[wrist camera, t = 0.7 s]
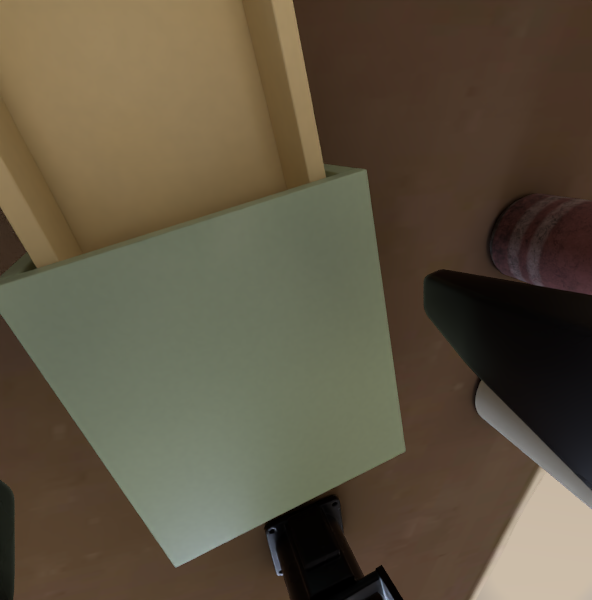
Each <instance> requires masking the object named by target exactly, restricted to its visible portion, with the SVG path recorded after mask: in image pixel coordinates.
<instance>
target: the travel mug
mask: <svg viewBox="0 0 592 600" xmlns="http://www.w3.org/2000/svg"><path fill="white" fill-rule="evenodd" d="M475 405H476V410H477V412H478V414H479V415H480V416H481V417H482V418H483V419H484V420H486V421H487V422H488V423H489V424H490V425H492V426H493V427H494V428H495V429H496V430H497V431H499V432H500V433H501V434H502V435H503V436H505V437H506V438H507V439H508V440H509V441H511V442H512V443H513V444H514V445H515V446H517V447H518V448H519V449H520V450H521V451H523V452H524V453H525V454H526V455H527V456H529V457H530V458H531V459H532V460H533V461H535V462H536V463H537V464H538V465H539V466H541V467H542V468H543V469H544V470H545V471H547V472H548V473H549V474H550V475H551V476H553V477H554V478H555V479H556V480H557V481H559V482H560V483H561V484H562V485H563V486H565V487H566V488H567V489H568V490H569V491H571V492H572V493H573V494H574V495H575V496H577V497H578V498H579V499H580V500H582V501H583V502H584V503H585V504H586V505H587V506H589V507H590V508H591V509H592V491H591V490H590V489H589V488H588V487H587V486H586V485H585V483H584V482H583V481H582V480H581V479H580V478H579V477H578V476H577V475H576V474H575V473H574V472H573V471H572V470H571V469H570V468H569V467H568V466H567V465H566V464H565V463H564V462H563V461H562V460H561V459H560V458H559V457H558V456H557V455H556V454H555V453H554V452H553V451H552V450H551V449H550V448H549V447H548V446H547V445H546V444H545V443H544V442H543V441H542V440H541V439H540V438H539V437H538V436H537V435H536V434H535V433H534V432H533V431H532V430H531V429H530V428H529V427H528V426H527V425H526V424H525V423H524V422H523V421H522V420H521V419H520V418H519V417H518V416H517V415H516V414H515V413H514V412H513V411H512V410H511V409H510V408H509V407H508V406H507V405H506V404H505V403H504V402H503V401H502V400H501V399H500V398H499V397H498V396H497V395H496V394H495V393H494V392H493V391H492V390H491V389H490V388H489V387H488V386H487V385H486V384H485V383H484V382H483V381H482V380H481V382H480V384H479V387H478V389H477V393H476V399H475Z"/></svg>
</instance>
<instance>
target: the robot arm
mask: <svg viewBox="0 0 592 600" xmlns="http://www.w3.org/2000/svg"><path fill="white" fill-rule="evenodd" d="M424 310H425V312H426V314H427V316H428V317H429V318H430V320H431V321H432V322H433V323H434V325H435V326H436V327H437V328H438V330H439V331H440V332H441V333H442V335H443V336H444V337H445V338H446V340H447V341H448V342H449V343H450V344H451V346H452V347H453V348H454V349H455V351H456V352H457V353H458V354H459V356H460V357H461V358H462V359H463V360H464V362H465V363H466V364H467V365H468V366H469V367H470V368H471V369H472V371H473V372H474V373H475V374H476V375H477V376H478V377H479V378H480V379H481V380H482V381H483V382H484V383H485V384H486V385H487V386H488V387H489V388H490V389H491V390H492V391H493V392H494V393H495V394H496V395H497V396H498V397H499V398H500V399H501V400H502V401H503V402H504V403H505V404H506V405H507V406H508V407H509V408H510V409H511V410H512V411H513V412H514V413H515V414H516V415H517V416H518V417H519V418H520V419H521V420H522V421H523V422H524V423H525V424H526V425H527V426H528V427H529V428H530V429H531V430H532V431H533V432H534V433H535V434H536V435H537V436H538V437H539V438H540V439H541V440H542V441H543V442H544V443H545V444H546V445H547V446H548V447H549V448H550V449H551V450H552V451H553V452H554V453H555V454H556V455H557V456H558V457H559V458H560V459H561V460H562V461H563V462H564V463H565V464H566V465H567V466H568V467H569V468H570V469H571V470H572V471H573V472H574V473H575V474H576V475H577V476H578V477H579V478H580V479H581V480H582V481H583V482H584V483H585V485H586V486H587V487H588V488H589V489H590V490H591V491H592V295H589V294H583V293H577V292H572V291H566V290H560V289H554V288H549V287H543V286H537V285H531V284H525V283H520V282H514V281H508V280H502V279H497V278H491V277H485V276H479V275H474V274H468V273H462V272H456V271H451V270H444V269H442V270H438V271H436V272H434V273H431V274H429V275H427V276H426V277H425V279H424ZM265 532H266V536H267V540H268V544H269V547H270V551H271V555H272V559H273V563H274V567H275V570H276V574H277V575H279V576H281V575H283V577H284V580H285V583H286V587H287V590H288V593H289V596H290V600H403V598H402V597H401V595H400V594H399V592H398V590H397V589H396V587H395V586H394V584H393V582H392V581H391V579H390V577H389V576H388V574H387V573H386V571H385V569H384V568H383V566H382V565H381V566H379V567H377V568H376V570H375V571H373V572H372V573H370V574H368V575H366V576H365V577H364V575H363V573H362V571H361V569H360V567H359V565H358V563H357V561H356V558H355V556H354V554H353V552H352V550H351V548H350V546H349V544H348V542H347V540H346V538H345V536H344V533H343V525H342V517H341V508H340V501H339V499H338V497H337V496H331V497H329V498H327V499H324V500H322V501H320V502H317V503H315V504H313V505H310V506H308V507H306V508H303V509H301V510H299V511H296V512H294V513H292V514H289V515H287V516H285V517H282V518H280V519H278V520H275V521H273V522H271V523H269V524H267V525H266V526H265ZM14 574H15V538H14V495H13V493H12V491H11V489H10V488H9V487H8V486H7V485H6V484H5V483H4V482H2V481H1V480H0V600H13V595H14Z"/></svg>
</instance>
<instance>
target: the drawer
mask: <svg viewBox="0 0 592 600" xmlns="http://www.w3.org/2000/svg"><path fill="white" fill-rule="evenodd" d="M324 178H326V175H325V169H324V164H323V159H322V153H321V148H320V143H319V138H318V132H317V127H316V122H315V116H314V111H313V106H312V100H311V95H310V90H309V85H308V79H307V74H306V69H305V63H304V58H303V53H302V47H301V42H300V37H299V32H298V26H297V21H296V16H295V10H294V5H293V0H0V208H1V209H2V211H3V213H4V214H5V216H6V218H7V219H8V221H9V223H10V224H11V226H12V228H13V229H14V231H15V233H16V234H17V236H18V238H19V239H20V241H21V243H22V244H23V246H24V248H25V249H26V251H27V253H28V254H29V256H30V258H31V259H32V261H33V263H34V264H35V266H36V268H40V267H43V266H47V265H50V264H53V263H56V262H59V261H63V260H66V259H69V258H72V257H75V256H78V255H82V254H85V253H88V252H91V251H94V250H98V249H101V248H104V247H107V246H110V245H113V244H117V243H120V242H123V241H126V240H129V239H133V238H136V237H139V236H142V235H145V234H148V233H152V232H155V231H158V230H161V229H164V228H168V227H171V226H174V225H177V224H180V223H184V222H187V221H190V220H193V219H196V218H199V217H203V216H206V215H209V214H212V213H215V212H219V211H222V210H225V209H228V208H231V207H234V206H238V205H241V204H244V203H247V202H250V201H254V200H257V199H260V198H263V197H266V196H269V195H273V194H276V193H279V192H282V191H285V190H289V189H292V188H295V187H298V186H301V185H304V184H308V183H311V182H314V181H317V180H320V179H324Z"/></svg>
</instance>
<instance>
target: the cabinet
mask: <svg viewBox="0 0 592 600" xmlns="http://www.w3.org/2000/svg"><path fill="white" fill-rule="evenodd" d="M324 169H325V175H326V178H324V179H320V180H317V181H314V182H311V183H308V184H304V185H301V186H298V187H295V188H292V189H289V190H285V191H282V192H279V193H276V194H273V195H269V196H266V197H263V198H260V199H257V200H254V201H250V202H247V203H244V204H241V205H238V206H234V207H231V208H228V209H225V210H222V211H219V212H215V213H212V214H209V215H206V216H203V217H199V218H196V219H193V220H190V221H187V222H184V223H180V224H177V225H174V226H171V227H168V228H164V229H161V230H158V231H155V232H152V233H148V234H145V235H142V236H139V237H136V238H133V239H129V240H126V241H123V242H120V243H117V244H113V245H110V246H107V247H104V248H101V249H98V250H94V251H91V252H88V253H85V254H82V255H78V256H75V257H72V258H69V259H66V260H63V261H59V262H56V263H53V264H50V265H47V266H43V267H40V268H36V266H35V264H34V263H33V261H32V259H31V258H30V256H29V254H28V253H25V254H24V255H23V256H22V257H21V258H20V259H19V260H18V261H17V262H16V263H14V264H13V265H12V266H11V267H10V268H9V269H8V270H7V271H6V272H5V273H3V274H2V275H1V276H0V314H1V315H2V317H3V318H4V319H5V321H6V322H7V324H8V325H9V327H10V328H11V330H12V331H13V333H14V334H15V335H16V337H17V338H18V340H19V341H20V343H21V344H22V346H23V347H24V348H25V350H26V351H27V353H28V354H29V356H30V357H31V359H32V360H33V362H34V363H35V364H36V366H37V367H38V369H39V370H40V372H41V373H42V375H43V376H44V378H45V379H46V380H47V382H48V383H49V385H50V386H51V388H52V389H53V391H54V392H55V394H56V395H57V396H58V398H59V399H60V401H61V402H62V404H63V405H64V407H65V408H66V410H67V411H68V412H69V414H70V415H71V417H72V418H73V420H74V421H75V423H76V424H77V425H78V427H79V428H80V430H81V431H82V433H83V434H84V436H85V437H86V439H87V440H88V441H89V443H90V444H91V446H92V447H93V449H94V450H95V452H96V453H97V455H98V456H99V457H100V459H101V460H102V462H103V463H104V465H105V466H106V468H107V469H108V471H109V472H110V473H111V475H112V476H113V478H114V479H115V481H116V482H117V484H118V485H119V487H120V488H121V489H122V491H123V492H124V494H125V495H126V497H127V498H128V500H129V501H130V502H131V504H132V505H133V507H134V508H135V510H136V511H137V513H138V514H139V516H140V517H141V518H142V520H143V521H144V523H145V524H146V526H147V527H148V529H149V530H150V532H151V533H152V534H153V536H154V537H155V539H156V540H157V542H158V543H159V545H160V546H161V548H162V549H163V550H164V552H165V553H166V555H167V556H168V558H169V559H170V561H171V562H172V564H173V565H174V566H175V567H178V566H180V565H182V564H184V563H186V562H188V561H190V560H192V559H194V558H196V557H198V556H200V555H202V554H204V553H206V552H208V551H210V550H212V549H213V548H215V547H217V546H219V545H221V544H223V543H225V542H227V541H229V540H231V539H233V538H235V537H237V536H239V535H241V534H243V533H245V532H247V531H249V530H251V529H253V528H255V527H257V526H259V525H261V524H263V523H265V522H267V521H269V520H271V519H273V518H275V517H277V516H279V515H281V514H283V513H285V512H287V511H289V510H291V509H293V508H295V507H297V506H299V505H301V504H303V503H304V502H306V501H308V500H310V499H312V498H314V497H316V496H318V495H320V494H322V493H324V492H326V491H328V490H330V489H332V488H334V487H336V486H338V485H340V484H342V483H344V482H346V481H348V480H350V479H352V478H354V477H356V476H358V475H360V474H362V473H364V472H366V471H368V470H370V469H372V468H374V467H376V466H378V465H380V464H382V463H384V462H386V461H388V460H390V459H392V458H394V457H395V456H397V455H399V454H401V453H403V452H405V451H406V450H405V443H404V436H403V429H402V421H401V414H400V407H399V400H398V393H397V385H396V378H395V371H394V364H393V357H392V350H391V342H390V335H389V328H388V321H387V314H386V306H385V299H384V292H383V285H382V278H381V271H380V263H379V256H378V249H377V242H376V235H375V227H374V220H373V213H372V206H371V199H370V192H369V184H368V177H367V170H366V169H360V168H351V167H343V166H336V165H329V164H324Z"/></svg>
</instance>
